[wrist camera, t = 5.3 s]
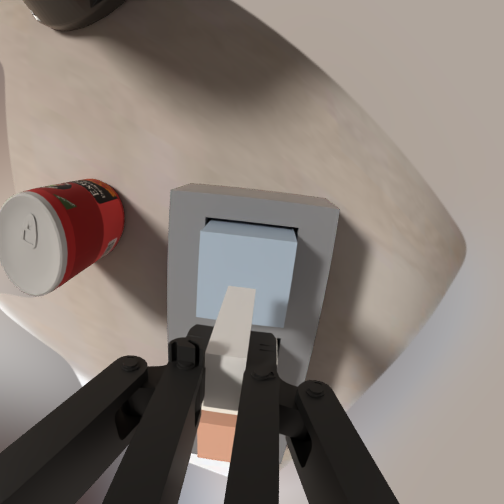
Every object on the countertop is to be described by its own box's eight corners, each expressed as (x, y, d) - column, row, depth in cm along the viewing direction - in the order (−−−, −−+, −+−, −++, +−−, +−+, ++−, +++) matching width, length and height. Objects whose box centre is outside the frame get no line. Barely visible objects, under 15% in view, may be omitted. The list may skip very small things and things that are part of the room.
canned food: (128, 178, 28) (59, 192, 18) (128, 259, 30) (69, 306, 20) (65, 177, 28) (-10, 192, 18) (67, 251, 31) (1, 289, 20)
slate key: (214, 216, 25) (200, 231, 20) (292, 225, 24) (297, 242, 20) (209, 288, 26) (195, 316, 21) (281, 297, 26) (283, 327, 21)
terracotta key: (206, 388, 31) (197, 421, 26) (264, 395, 31) (262, 430, 26) (205, 425, 33) (197, 457, 28) (257, 431, 32) (255, 464, 28)
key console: (190, 183, 28) (170, 190, 22) (325, 198, 28) (340, 209, 22) (185, 415, 36) (174, 449, 30) (280, 427, 36) (280, 463, 30)
